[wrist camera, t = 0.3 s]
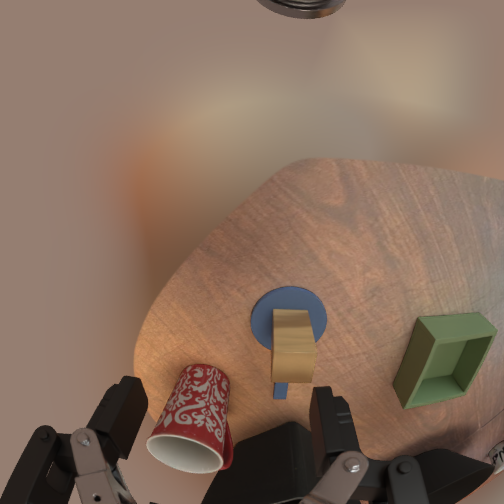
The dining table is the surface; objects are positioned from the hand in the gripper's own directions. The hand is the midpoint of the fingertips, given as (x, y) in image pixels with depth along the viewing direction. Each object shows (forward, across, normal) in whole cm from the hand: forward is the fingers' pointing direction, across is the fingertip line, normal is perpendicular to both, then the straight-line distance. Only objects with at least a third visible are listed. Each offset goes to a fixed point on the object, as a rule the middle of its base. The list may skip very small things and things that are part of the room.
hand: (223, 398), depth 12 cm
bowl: (+19, -41, +57) cm, 73 cm away
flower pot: (+20, -5, +37) cm, 42 cm away
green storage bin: (+20, -28, +16) cm, 38 cm away
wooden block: (+19, -5, +9) cm, 22 cm away
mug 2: (+18, -88, +74) cm, 116 cm away
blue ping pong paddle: (+20, -4, +13) cm, 24 cm away
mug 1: (+20, +6, +21) cm, 30 cm away
